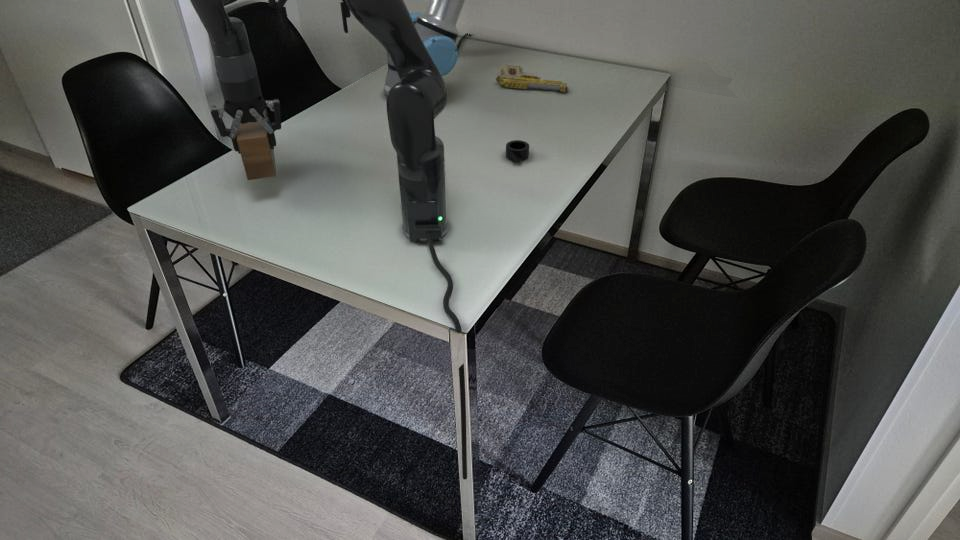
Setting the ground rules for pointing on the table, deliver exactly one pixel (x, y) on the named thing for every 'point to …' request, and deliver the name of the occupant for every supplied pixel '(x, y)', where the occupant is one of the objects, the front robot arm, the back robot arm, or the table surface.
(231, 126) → the front robot arm
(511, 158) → the duct tape
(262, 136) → the box
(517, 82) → the handgun
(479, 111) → the table surface
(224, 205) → the table surface
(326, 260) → the table surface
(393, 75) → the back robot arm
